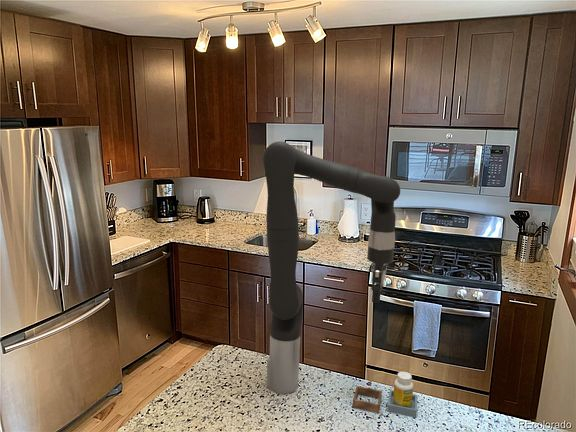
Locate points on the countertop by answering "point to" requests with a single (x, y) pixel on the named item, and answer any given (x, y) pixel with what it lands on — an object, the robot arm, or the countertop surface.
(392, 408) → the tray
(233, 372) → the countertop surface
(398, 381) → the supplement bottle
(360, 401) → the wooden square frame
